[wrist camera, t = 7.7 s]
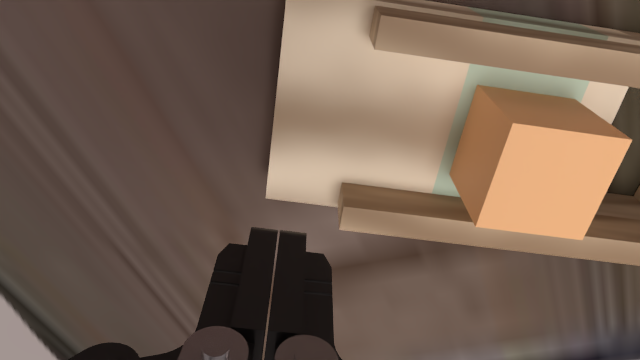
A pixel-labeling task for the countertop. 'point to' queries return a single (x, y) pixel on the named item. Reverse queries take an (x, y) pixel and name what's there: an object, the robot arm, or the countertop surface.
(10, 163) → the countertop surface
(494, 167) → the block
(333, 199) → the cream tray
